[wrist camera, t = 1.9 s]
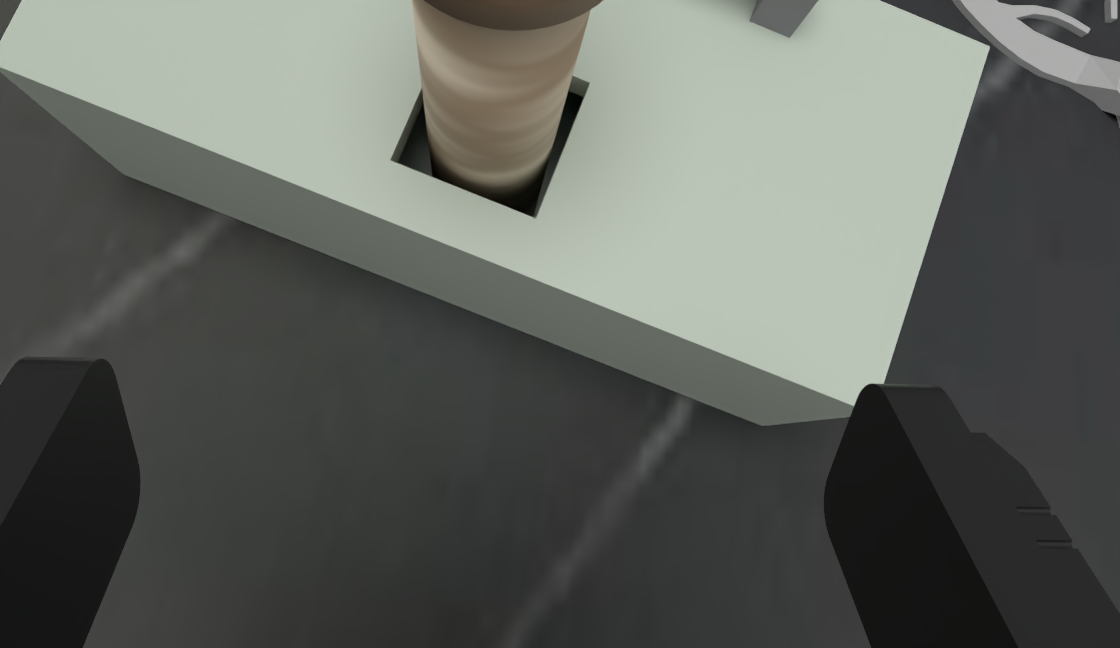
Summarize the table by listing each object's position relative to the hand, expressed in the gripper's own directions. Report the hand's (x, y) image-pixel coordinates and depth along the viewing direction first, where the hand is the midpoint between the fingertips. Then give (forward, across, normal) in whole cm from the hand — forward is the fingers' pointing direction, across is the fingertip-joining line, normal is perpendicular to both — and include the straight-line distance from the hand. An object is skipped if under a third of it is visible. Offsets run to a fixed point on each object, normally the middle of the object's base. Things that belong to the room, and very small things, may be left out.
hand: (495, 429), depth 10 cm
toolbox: (+22, -1, +8) cm, 24 cm away
